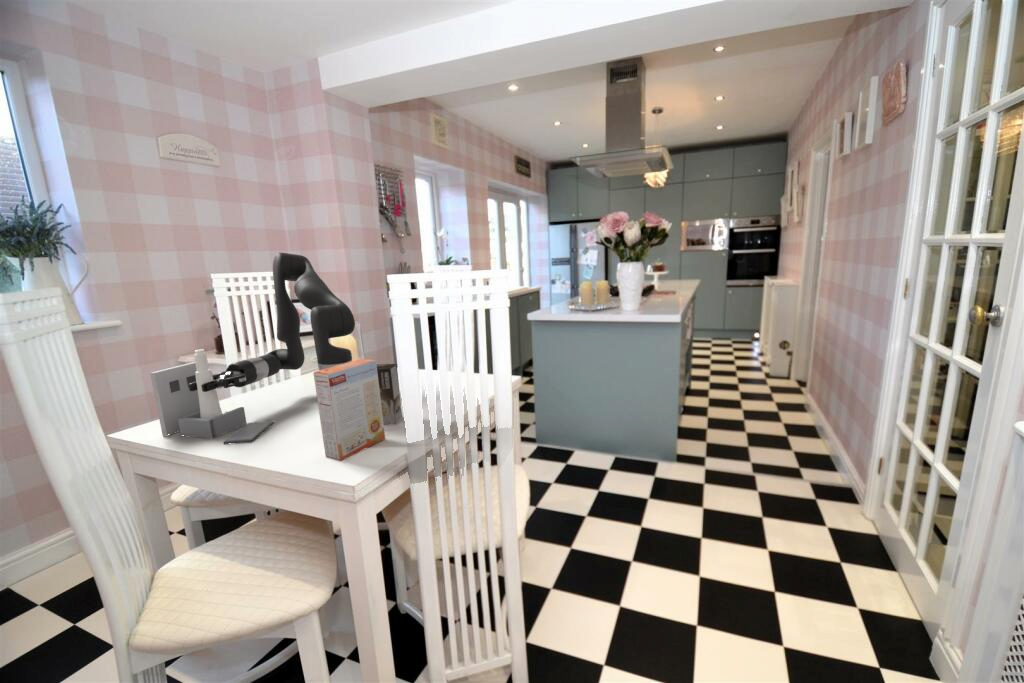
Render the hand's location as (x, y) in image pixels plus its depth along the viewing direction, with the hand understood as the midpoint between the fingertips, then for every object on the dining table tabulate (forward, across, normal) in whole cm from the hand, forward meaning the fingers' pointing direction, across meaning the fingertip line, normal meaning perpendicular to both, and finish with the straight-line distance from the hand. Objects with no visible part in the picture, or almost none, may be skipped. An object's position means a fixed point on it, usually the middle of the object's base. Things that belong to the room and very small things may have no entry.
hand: (196, 387), depth 122 cm
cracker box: (+1, +49, +13) cm, 51 cm away
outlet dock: (-3, -3, +13) cm, 14 cm away
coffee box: (-17, +46, +14) cm, 51 cm away
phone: (-3, +13, +14) cm, 19 cm away
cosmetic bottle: (-3, 0, +12) cm, 13 cm away
